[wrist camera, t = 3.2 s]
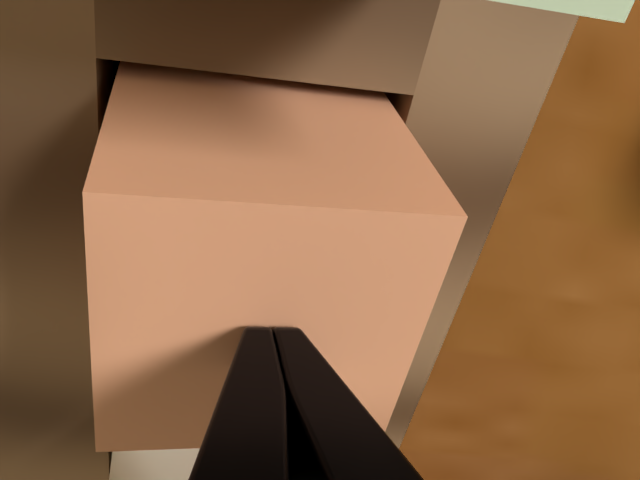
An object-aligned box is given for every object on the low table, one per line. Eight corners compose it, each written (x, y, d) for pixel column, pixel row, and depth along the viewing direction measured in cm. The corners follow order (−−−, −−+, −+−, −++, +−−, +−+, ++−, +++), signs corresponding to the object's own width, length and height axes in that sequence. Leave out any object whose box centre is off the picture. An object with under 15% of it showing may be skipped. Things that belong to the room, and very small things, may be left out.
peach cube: (331, 272, 15) (381, 441, 11) (124, 265, 14) (95, 452, 10) (377, 83, 12) (468, 216, 8) (122, 52, 11) (82, 192, 7)
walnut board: (354, 456, 22) (369, 518, 20) (31, 471, 19) (13, 544, 17) (710, -556, 8) (862, -663, 7) (-195, -984, 6) (-387, -1383, 4)
